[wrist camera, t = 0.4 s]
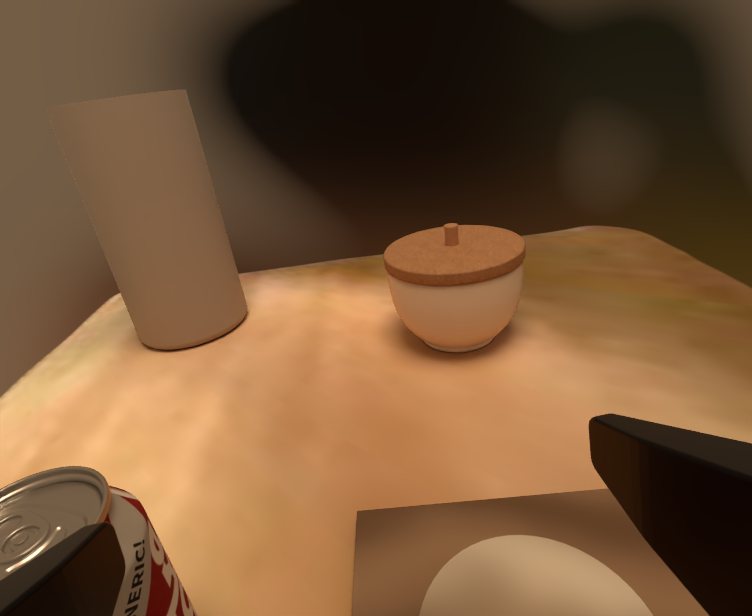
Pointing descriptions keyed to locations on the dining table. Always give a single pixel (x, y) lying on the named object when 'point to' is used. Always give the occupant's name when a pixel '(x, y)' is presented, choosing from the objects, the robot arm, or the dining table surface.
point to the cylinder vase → (154, 214)
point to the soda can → (81, 508)
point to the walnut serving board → (512, 560)
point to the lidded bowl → (456, 283)
